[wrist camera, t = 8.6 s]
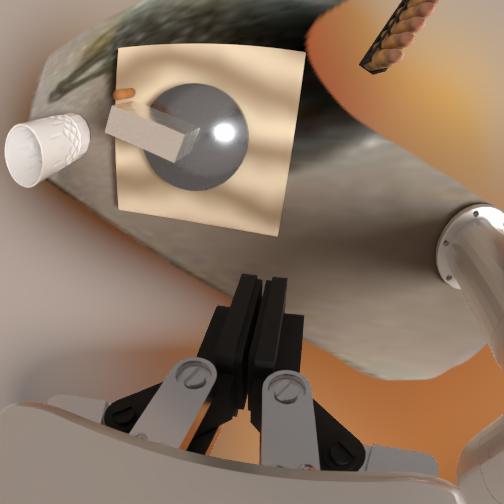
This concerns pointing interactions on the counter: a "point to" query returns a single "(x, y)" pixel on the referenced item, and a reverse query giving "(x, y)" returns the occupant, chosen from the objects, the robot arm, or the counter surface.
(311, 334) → the counter surface
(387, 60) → the ammunition clip
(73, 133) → the white cup
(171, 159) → the dial
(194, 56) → the dial panel
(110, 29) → the counter surface
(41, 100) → the counter surface
